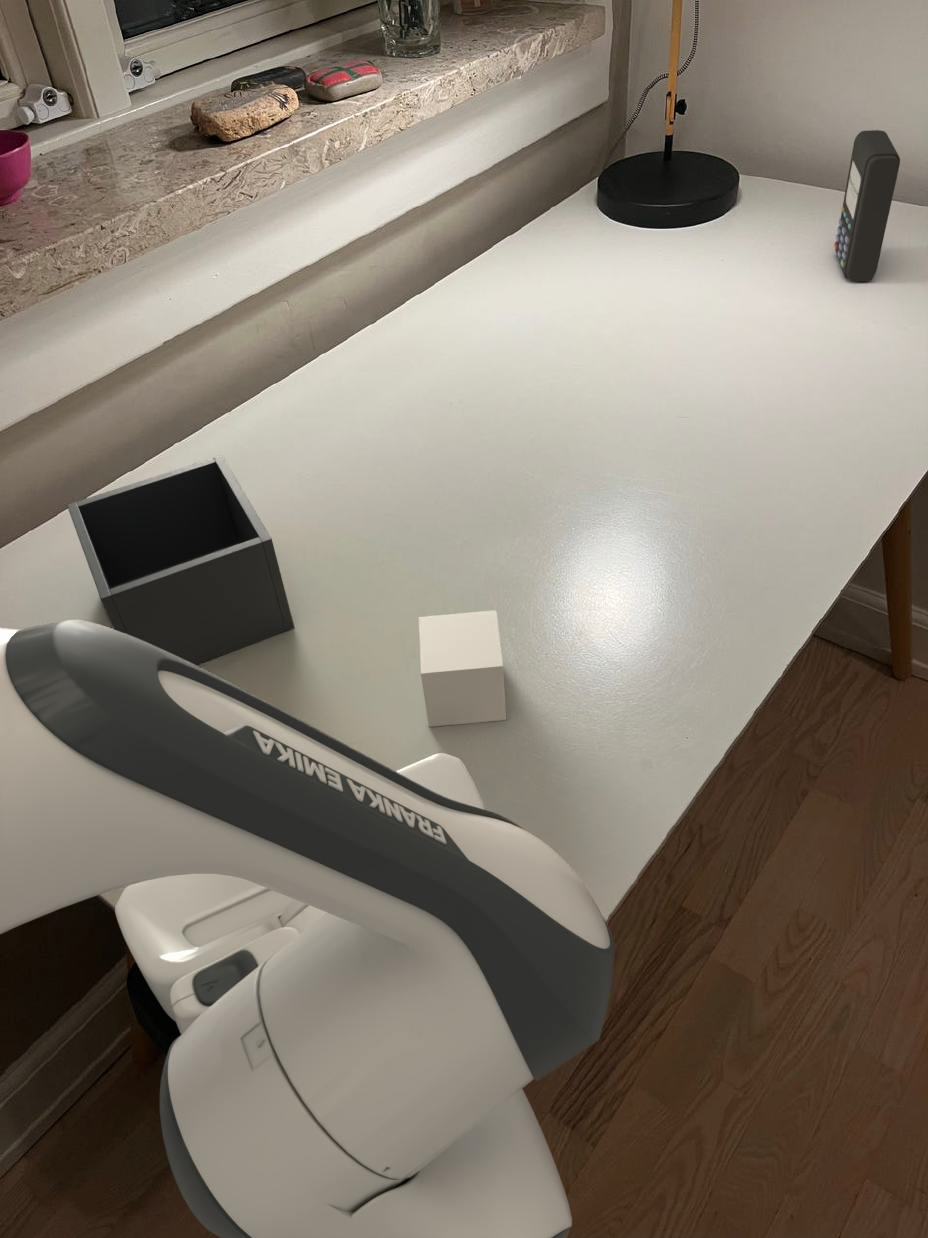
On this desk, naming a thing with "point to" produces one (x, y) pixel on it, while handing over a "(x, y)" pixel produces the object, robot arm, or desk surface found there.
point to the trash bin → (184, 562)
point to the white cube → (462, 668)
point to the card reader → (866, 204)
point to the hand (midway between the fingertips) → (268, 774)
